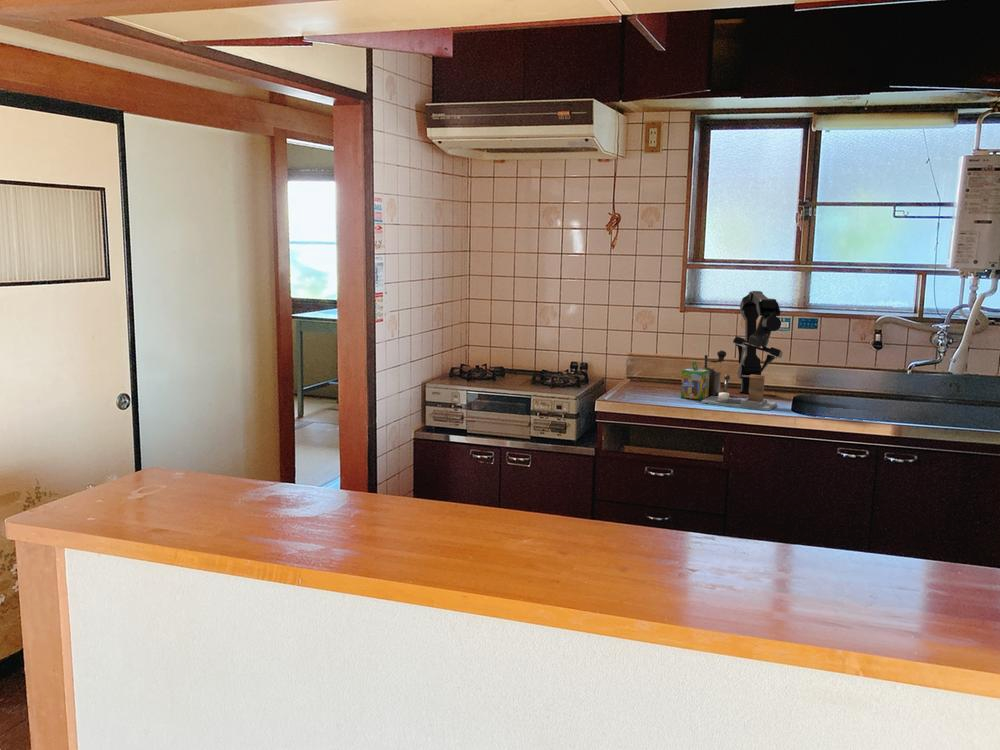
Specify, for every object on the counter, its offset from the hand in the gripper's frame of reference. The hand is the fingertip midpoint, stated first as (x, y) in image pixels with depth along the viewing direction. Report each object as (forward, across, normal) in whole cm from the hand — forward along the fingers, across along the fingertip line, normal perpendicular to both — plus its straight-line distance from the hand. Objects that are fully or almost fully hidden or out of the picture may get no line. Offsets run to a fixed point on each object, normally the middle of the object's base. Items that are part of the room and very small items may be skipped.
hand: (750, 367), depth 338 cm
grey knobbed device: (+16, -17, +14) cm, 27 cm away
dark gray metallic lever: (+13, -6, -2) cm, 15 cm away
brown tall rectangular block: (+12, +7, -3) cm, 14 cm away
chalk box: (+19, -17, 0) cm, 25 cm away
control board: (+15, +2, -4) cm, 16 cm away
